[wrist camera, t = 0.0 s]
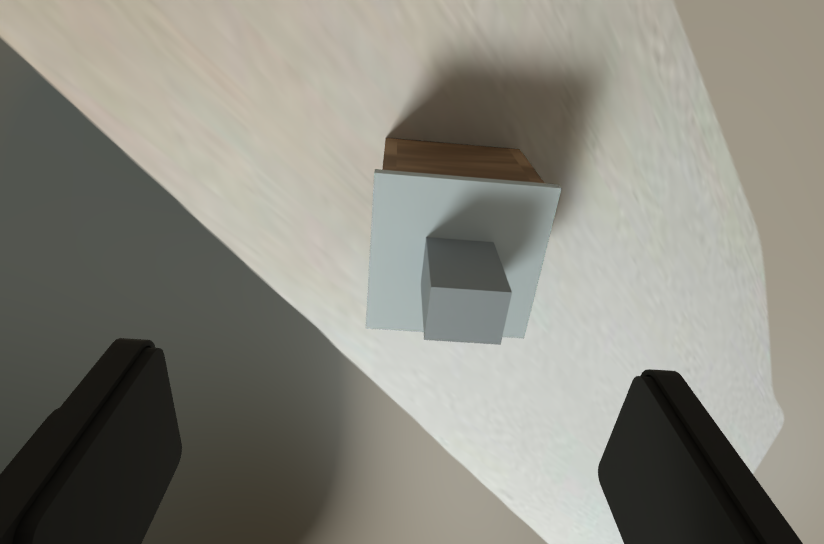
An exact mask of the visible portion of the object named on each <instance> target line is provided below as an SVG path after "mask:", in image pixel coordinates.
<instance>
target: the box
mask: <svg viewBox="0 0 824 544" xmlns="http://www.w3.org/2000/svg"><path fill="white" fill-rule="evenodd" d="M383 170H391V171H403V172H415V173H427V174H439V175H451V176H463V177H475V178H487V179H499V180H511V181H523V182H535V183H544V182H543V180H542V179H541V178H540V176H539V175H538V174H537V172H536V171H535V170H534V168H533V167H532V166H531V164H530V163H529V162H528V160H527V159H526V157H525V156H524V155H523V153H522V152H521V151H520V149H509V148H497V147H486V146H474V145H463V144H451V143H440V142H428V141H417V140H405V139H394V138H386V141H385V151H384V160H383Z"/></svg>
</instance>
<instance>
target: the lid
mask: <svg viewBox="0 0 824 544" xmlns="http://www.w3.org/2000/svg"><path fill="white" fill-rule="evenodd" d="M561 189H562V188H561V187H560V186H559V185H558V184H547V183H535V182H523V181H511V180H499V179H487V178H475V177H463V176H451V175H439V174H427V173H415V172H403V171H391V170H378V169H375V173H374V190H373V208H372V225H371V243H370V261H369V278H368V296H367V313H366V328H367V329H383V330H399V331H415V332H424V340H436V341H452V342H468V343H484V344H499V345H501V340H502V337H509V338H524V336H525V332H526V328H527V324H528V320H529V316H530V312H531V308H532V304H533V300H534V296H535V292H536V288H537V284H538V280H539V276H540V272H541V268H542V264H543V260H544V257H545V253H546V249H547V245H548V241H549V237H550V233H551V229H552V225H553V221H554V217H555V213H556V209H557V205H558V201H559V197H560V193H561Z"/></svg>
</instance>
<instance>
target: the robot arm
mask: <svg viewBox="0 0 824 544" xmlns="http://www.w3.org/2000/svg"><path fill="white" fill-rule="evenodd" d="M181 452H182V444H181V439H180V434H179V429H178V423H177V418H176V413H175V408H174V403H173V398H172V393H171V387H170V383H169V377H168V372H167V367H166V362H165V357H164V353H163V350H162V349H160V348H155V345H154V343H153V342H152V341H150V340H141V339H124V338H123V339H122V338H119V339H116V340H115V341H114V342H113V343H112V344H111V346H110V347H109V348H108V349H107V351H106V352H105V353H104V354H103V356H102V357H101V358H100V359H99V360H98V362H97V363H96V364H95V365H94V366H93V368H92V369H91V370H90V371H89V373H88V374H87V375H86V376H85V377H84V379H83V380H82V381H81V382H80V384H79V385H78V386H77V387H76V389H75V390H74V391H73V392H72V393H71V395H70V396H69V397H68V398H67V400H66V401H65V402H64V403H63V404H62V406H61V407H60V408H58V409H56V410H55V411H53V412H52V413H51V414H50V415H49V416H48V417H47V419H46V420H45V421H44V422H43V423H42V425H41V426H40V427H39V428H38V429H37V431H36V432H35V433H34V434H33V436H32V437H31V438H30V439H29V440H28V442H27V443H26V444H25V445H24V446H23V448H22V449H21V450H20V451H19V452H18V454H17V455H16V456H15V457H14V459H13V460H12V461H11V462H10V463H9V465H8V466H7V467H6V468H5V469H4V471H3V472H2V473H1V474H0V544H141V543H142V541H143V539H144V537H145V534H146V532H147V530H148V528H149V526H150V524H151V522H152V520H153V518H154V515H155V513H156V511H157V509H158V507H159V505H160V502H161V500H162V498H163V496H164V494H165V492H166V490H167V487H168V485H169V483H170V481H171V479H172V477H173V475H174V473H175V471H176V468H177V466H178V464H179V461H180V458H181ZM598 477H599V481H600V485H601V487H602V490H603V492H604V494H605V497H606V499H607V502H608V504H609V507H610V509H611V512H612V514H613V517H614V519H615V522H616V524H617V527H618V529H619V532H620V534H621V537H622V539H623V542H624V544H803V543H802V542H801V540H800V539H799V538H798V536H797V535H796V534H795V532H794V531H793V529H792V528H791V527H790V525H789V524H788V522H787V521H786V520H785V518H784V517H783V516H782V514H781V513H780V511H779V510H778V509H777V507H776V506H775V504H774V503H773V502H772V501H771V499H770V498H769V496H768V495H767V493H766V492H765V491H764V489H763V488H762V487H761V485H760V484H759V482H758V481H757V480H756V478H755V477H754V476H753V474H752V473H751V471H750V470H749V469H748V467H747V466H746V464H745V463H744V462H743V460H742V459H741V458H740V456H739V455H738V453H737V452H736V451H735V449H734V448H733V446H732V445H731V444H730V442H729V441H728V440H727V438H726V437H725V435H724V434H723V433H722V431H721V430H720V429H719V427H718V426H717V424H716V423H715V422H714V420H713V419H712V417H711V416H710V415H709V413H708V412H707V411H706V409H705V408H704V406H703V405H702V404H701V402H700V401H699V400H698V398H697V397H696V395H695V394H694V393H693V391H692V390H691V388H690V387H689V386H688V384H687V383H686V382H685V380H684V379H683V377H682V376H681V375H680V374H679V373H678V372H675V371H666V370H645V371H644V372H642V374H641V376H636V377H635V378H634V379H633V381H632V384H631V386H630V389H629V391H628V394H627V396H626V398H625V401H624V403H623V406H622V408H621V411H620V413H619V416H618V418H617V421H616V423H615V426H614V428H613V431H612V433H611V436H610V438H609V441H608V443H607V446H606V448H605V451H604V453H603V456H602V458H601V461H600V463H599V467H598Z"/></svg>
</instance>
